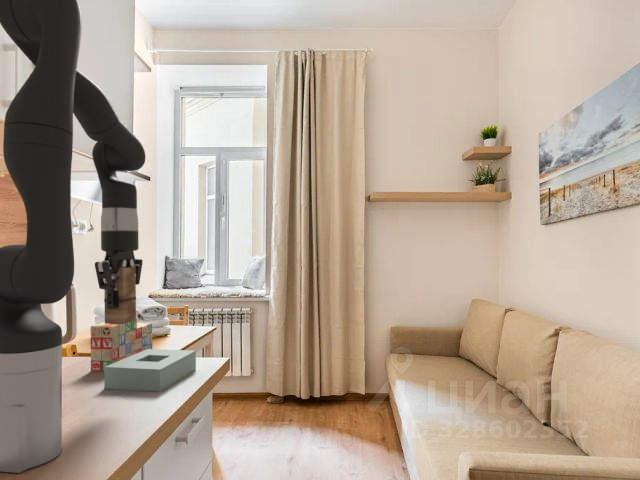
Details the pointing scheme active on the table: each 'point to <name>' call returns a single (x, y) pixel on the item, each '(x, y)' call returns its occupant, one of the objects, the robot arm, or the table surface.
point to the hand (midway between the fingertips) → (120, 306)
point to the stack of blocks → (118, 342)
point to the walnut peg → (123, 298)
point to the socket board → (149, 370)
